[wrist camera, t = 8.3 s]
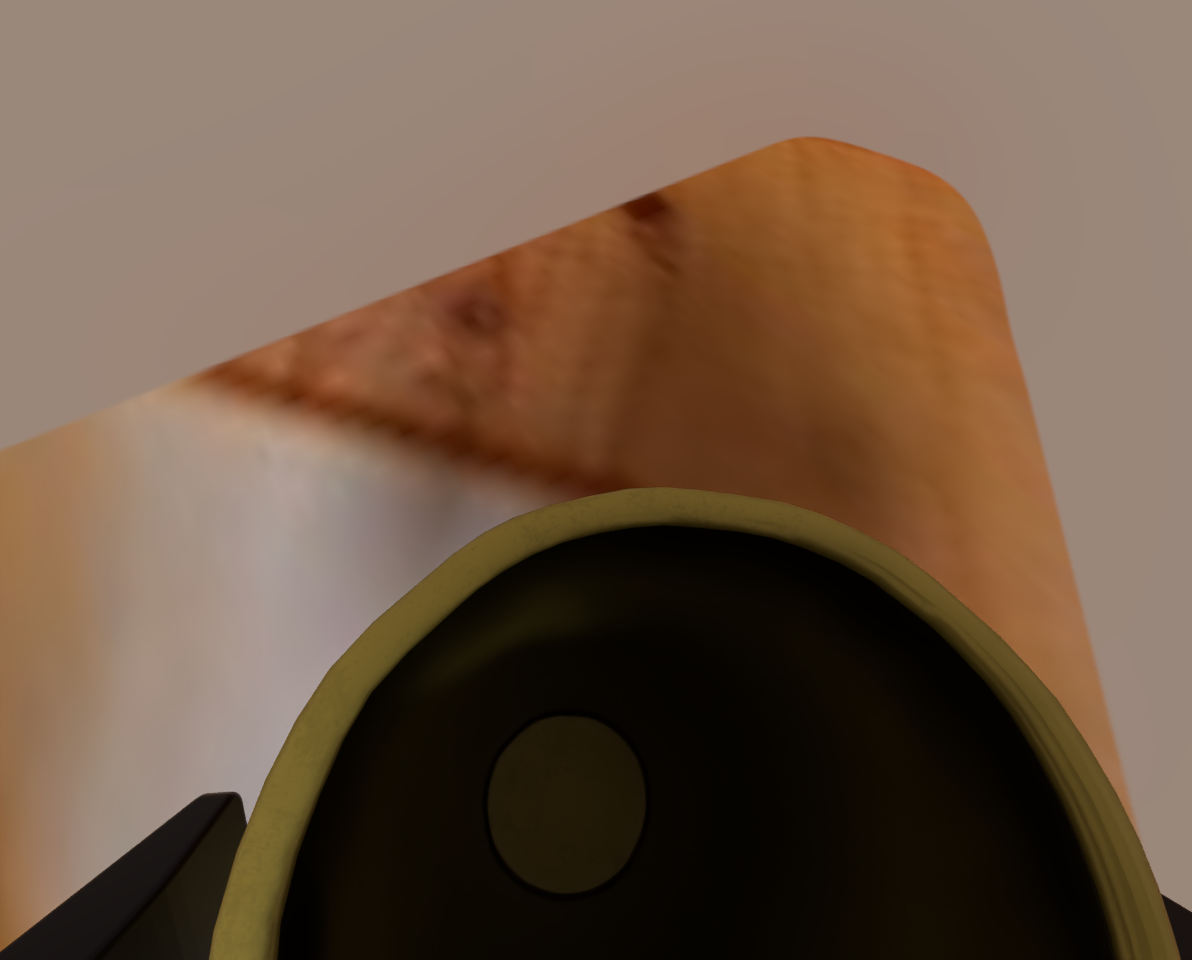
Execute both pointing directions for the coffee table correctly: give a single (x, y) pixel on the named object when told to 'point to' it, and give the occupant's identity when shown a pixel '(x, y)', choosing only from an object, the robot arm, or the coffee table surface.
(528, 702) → the vase
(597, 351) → the coffee table surface
